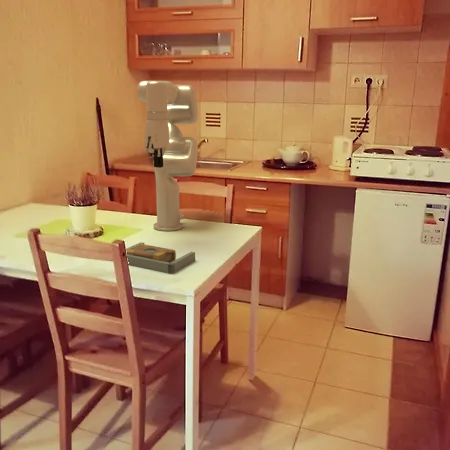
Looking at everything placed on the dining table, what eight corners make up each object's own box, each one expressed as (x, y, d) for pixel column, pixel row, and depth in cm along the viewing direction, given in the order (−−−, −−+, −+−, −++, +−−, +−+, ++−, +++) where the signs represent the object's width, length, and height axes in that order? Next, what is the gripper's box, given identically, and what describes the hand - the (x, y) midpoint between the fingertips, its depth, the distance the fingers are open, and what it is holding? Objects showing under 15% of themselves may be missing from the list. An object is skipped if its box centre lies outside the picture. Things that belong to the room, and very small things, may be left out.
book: (123, 262, 166) (123, 248, 164) (143, 253, 175) (142, 240, 174) (159, 270, 159) (158, 255, 158) (177, 260, 169) (177, 246, 167)
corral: (141, 250, 178) (140, 242, 177) (195, 260, 168) (195, 252, 167) (115, 261, 165) (114, 253, 164) (171, 273, 155) (171, 264, 154)
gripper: (160, 115, 184) (161, 163, 189) (136, 117, 171) (138, 169, 176) (177, 116, 181) (177, 165, 186) (153, 118, 168) (155, 170, 173)
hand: (158, 167), depth 181 cm, fingers closed
